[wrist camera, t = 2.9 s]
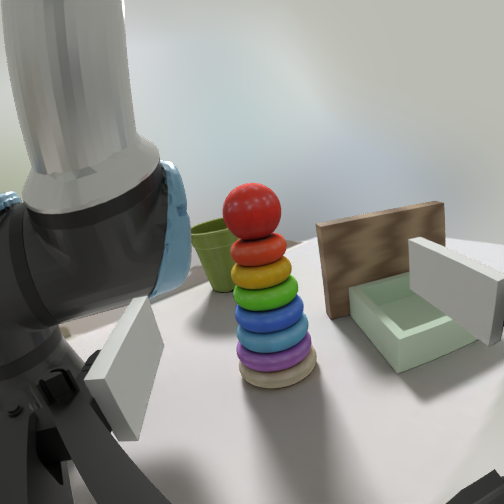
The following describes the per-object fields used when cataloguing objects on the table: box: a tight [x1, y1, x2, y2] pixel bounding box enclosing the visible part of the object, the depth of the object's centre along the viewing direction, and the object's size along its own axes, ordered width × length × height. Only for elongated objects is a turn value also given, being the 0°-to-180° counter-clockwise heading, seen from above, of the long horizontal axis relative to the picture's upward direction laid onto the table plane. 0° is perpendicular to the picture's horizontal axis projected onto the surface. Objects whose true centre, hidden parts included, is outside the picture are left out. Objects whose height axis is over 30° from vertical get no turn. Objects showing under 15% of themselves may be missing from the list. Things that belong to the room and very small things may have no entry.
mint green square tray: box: [349, 271, 478, 374], centre depth 33 cm, size 13×13×4 cm
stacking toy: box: [223, 183, 317, 388], centre depth 30 cm, size 8×8×19 cm
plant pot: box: [191, 218, 240, 292], centre depth 56 cm, size 12×12×11 cm
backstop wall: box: [316, 201, 445, 319], centre depth 39 cm, size 18×2×12 cm, turn 95°
